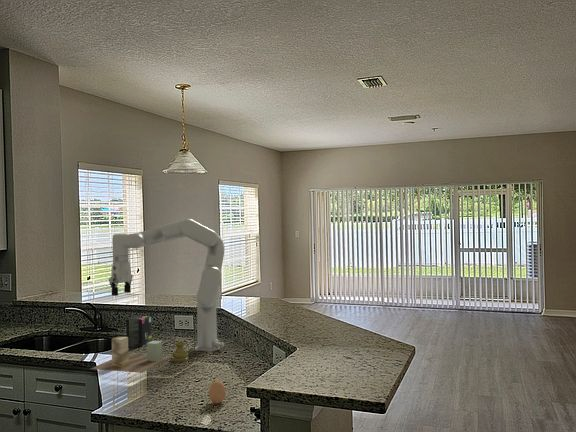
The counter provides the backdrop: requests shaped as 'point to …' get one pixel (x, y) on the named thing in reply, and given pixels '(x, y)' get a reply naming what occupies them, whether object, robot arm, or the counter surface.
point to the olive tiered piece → (180, 353)
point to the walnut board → (133, 364)
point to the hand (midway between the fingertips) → (121, 294)
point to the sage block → (154, 351)
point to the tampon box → (138, 331)
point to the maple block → (120, 352)
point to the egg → (217, 392)
